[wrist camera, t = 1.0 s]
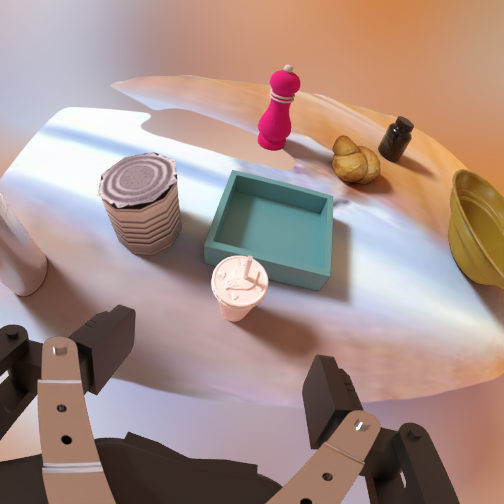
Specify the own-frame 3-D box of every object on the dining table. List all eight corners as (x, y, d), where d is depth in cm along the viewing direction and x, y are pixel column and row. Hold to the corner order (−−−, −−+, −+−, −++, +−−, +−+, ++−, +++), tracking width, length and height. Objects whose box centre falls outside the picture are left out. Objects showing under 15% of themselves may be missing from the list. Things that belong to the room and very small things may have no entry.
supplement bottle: (394, 149, 69) (411, 118, 59) (401, 165, 66) (421, 132, 55) (374, 144, 69) (391, 111, 58) (381, 159, 65) (400, 124, 55)
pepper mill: (278, 132, 63) (296, 60, 46) (291, 150, 60) (314, 73, 43) (250, 135, 61) (264, 58, 44) (263, 154, 58) (281, 71, 41)
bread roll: (371, 166, 62) (384, 142, 56) (382, 194, 57) (398, 169, 50) (324, 156, 61) (335, 129, 54) (332, 184, 56) (345, 156, 49)
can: (119, 263, 40) (95, 214, 30) (115, 208, 45) (99, 157, 35) (188, 247, 43) (183, 195, 33) (176, 195, 48) (171, 142, 38)
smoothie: (264, 318, 39) (289, 274, 27) (223, 338, 36) (230, 301, 25) (242, 282, 41) (257, 225, 29) (203, 299, 39) (200, 246, 27)
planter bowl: (504, 334, 42) (544, 311, 31) (417, 282, 46) (462, 244, 34) (495, 238, 59) (522, 212, 47) (420, 185, 63) (445, 149, 51)
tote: (204, 263, 42) (204, 245, 38) (229, 189, 51) (232, 170, 46) (318, 290, 42) (330, 276, 38) (323, 213, 51) (333, 196, 47)
